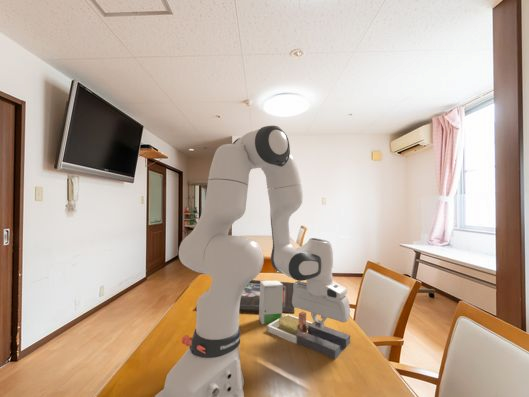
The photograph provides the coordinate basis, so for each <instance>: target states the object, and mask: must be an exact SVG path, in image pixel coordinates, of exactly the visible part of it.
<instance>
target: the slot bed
mask: <svg viewBox="0 0 529 397" xmlns="http://www.w3.org/2000/svg"><path fill="white" fill-rule="evenodd" d="M295 336H296V337H297V343H296V344H298V345H301V346H302V347H303V346H304V347H306V348H307V349H310V350H312V351H315V352H316V353H319V354H321V355H324V356H327V357H328V358H331V359H334V360H336V359H337V358H338V357H339V356H340V355H341V353H343V351H344V350H345V349H346V348H347V347H348V346H349V345H350V343H351V335H350V334H348V333H346V332H342V331H340V330H336V329H333V328H330V327H327V326H325V325H324V327H323V328H319V327H317V326H314V321H313V322H312V323H311V324H310V325H309V326H308V327H307V332H306V333H305V332H303V331H300V332H299V333H298V334H296V335H295Z"/></svg>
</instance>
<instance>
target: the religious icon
mask: <svg viewBox="0 0 529 397" xmlns="http://www.w3.org/2000/svg"><path fill="white" fill-rule="evenodd" d="M260 281H261V280H258V279H257V280H255V279H253V280H252V281H250V282H249V283H248V284H247V285H246V287H245V288H244V291H243V293H242V296H241V300H240V308H239V314H240V313H241V314H242V313H244V314H245V313H247V314H259V303H260ZM279 282H280V283H282V284H283V301H282V314H291V315H292V314H295V307H294V306H293V304H292V297H293V291H294V290H293V284H294V283H295V282H288V281H287V282H285V281H279ZM195 308H196V310H197V306H196V307H195Z"/></svg>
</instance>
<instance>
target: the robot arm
mask: <svg viewBox="0 0 529 397" xmlns="http://www.w3.org/2000/svg"><path fill="white" fill-rule="evenodd" d="M254 169H260V170H262V171H263V174H264V176H265V180H266V189H267V196H268V200H269V206H270V207H269V211H270V212H269V213H270V214H269V216H270V225H271V226H270V228H271V235H272V236H271V238H272V249H271V254H270V263H271V266H272V268H273V269H274V270H275V271H276V272H278V273H280V274H284V275H285V276H287V277H289V278H290V279H292V280H295V282H293V283H294V284H293V290H294V291H293V297H292V304H293V306H294V308H296V309H300V310H303V311H304V312H305V311H306V312H309V313H310V316H311V318H312V320H313V322H314V326H317V327H319V328H323V327H324V326H325V321H327V318H328V319H331V320H333V321H334V320H335V321H338V322H340V323H346V322H347V321H348V320H349V319H350V317H351V308H350V300H349V298H348V297H347V294H348V289H347V287H345V286H343V285H342V284H339V283H337V282H336V281H335V280H334V279H333V278H334V276H333V273H332V272H333V267H334V252H333V246H332V244H331V242H330V241H328V240H325V239H320V238H314V237H313V238H312V237H311V238H309V239H308V241H307V242H305V243H304V244H303V245H301V246H299V247H297V248H296V247H294V246H293V245H292V243H291V239H290V238H291V235H290V225H289V221H290V218H291V216H292V215H293V214H294V213H295V212H297V211H298V210H299V209H300V207H301V206H302V204H303V198H304V197H303V187H302V181H301V177H300V172H299V169H298V165H297V162H296V159H295V157H294V156H293V155H292V154H291V146H290V141H289V137H288V135H287V133H286V132H285V131H284V130H283V129H282V128H281V127H280V126H277V125H267V126H262V127H260V128H258V129H256V130H252V131H250V132H247V133H245V134H244V135H242V136H241V137H238V138H237V139H235V140H234V141H233V142H232V143H225V144H222V145H220V146H219V147H217V149H216V150H215V153H214V155H213V159H212V162H211V164H210V168H209V174H208V180H207V186H206V193H205V198H204V203H203V204H204V205H203V208H202V212H201V214H200V217H199V219H198V221H197V223H196V225H195V226H194V228H193V230H191V232H190V233H189V234H188V235H187V236H185V237H184V238H183V239H182V240H181V242H180V245H179V247H178V258H179V260H180V263H181V264H182V265H183V266H184V267H186V268H188V269H189V270H192V271H193V272H195V273H200V274H204V275H207V276H210V277H211V283H210V287H209V289H208V290H206V291H205V292H204V293H202V294H200V296H199V297H198V299H197V302H196V307H197V309H196V316H195V317H196V318H195V319H196V322H195V324H196V325H195V329H194V332H193V333H192V334H193V335H192V337H190V336H189V335H187V334H186V335H184V336H182V338H181V344H183V345H185V346H186V347H189V348H188V349H187V350H186V351H185V353H184V354H183V355H182V356H181V357H180V358H179V360H178V361H177V362H176V364H175V365H174V366H173V367H171V369H170V371H168V373H167V375H166V378H165V382H164V385H163V389H162V390H160V391H159V392H158V393H157V394H155V395H154V397H245V395H244V384H245V380H244V375H243V371H242V366H241V365H242V364H241V357H240V356H241V355H240V347H239V346H240V344H241V336H242V335H241V326H240V324H239V323H240V312H239V308H240V300H241V296H242V293H243V291H244V288H245V287H246V285H247V284H248V283H249V282H250V281H252V280H255V278H257V277H258V275H259V274H260V273H261V272H262V270H263V265H264V259H265V258H264V253H263V251H264V250H263V249H262V247H261V245H260V244H259V243H258V242H257V241H254V240H253V239H249V238H246V237H243V236H241V235H231V234H230V235H229V232H230V229H231V227H232V226H233V225H234V223H235V222H236V221H238V220H239V219H241V218H242V217H243V216H244V215H245V213H246V210H247V208H246V207H247V200H248V199H247V198H248V189H249V180H250V172H251V170H254ZM305 281H306V282H305ZM317 315H319V316H320V319H319V318H318V316H317Z"/></svg>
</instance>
